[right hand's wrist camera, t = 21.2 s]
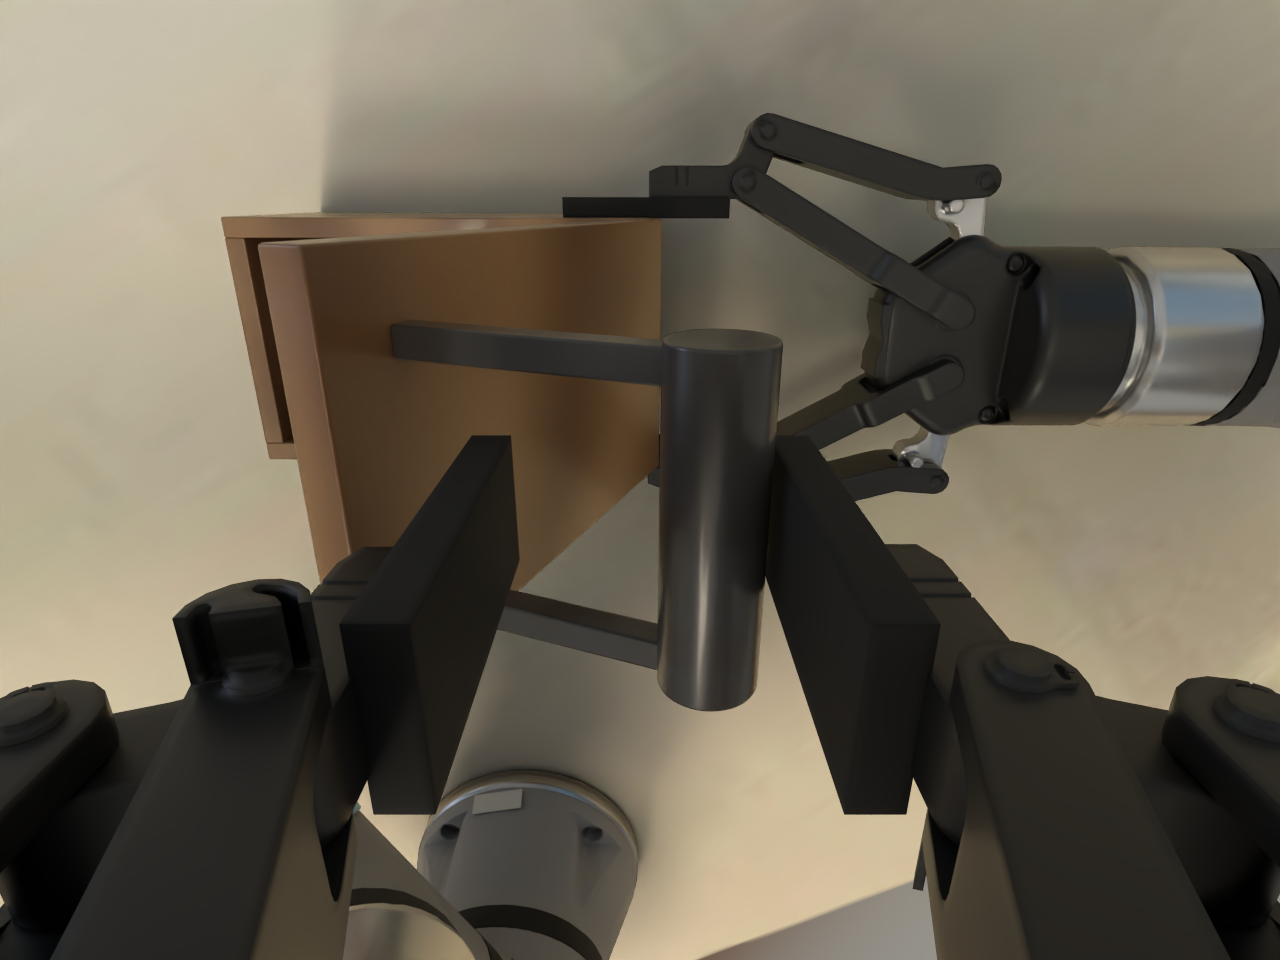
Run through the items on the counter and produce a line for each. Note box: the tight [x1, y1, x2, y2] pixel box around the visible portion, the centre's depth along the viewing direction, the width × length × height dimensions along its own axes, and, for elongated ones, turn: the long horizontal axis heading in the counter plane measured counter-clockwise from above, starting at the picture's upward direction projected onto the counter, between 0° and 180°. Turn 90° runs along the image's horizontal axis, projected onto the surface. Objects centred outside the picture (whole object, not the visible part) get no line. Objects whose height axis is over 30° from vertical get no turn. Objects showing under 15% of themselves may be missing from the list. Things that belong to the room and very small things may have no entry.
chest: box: [221, 212, 649, 459], centre depth 33 cm, size 16×10×9 cm, turn 90°
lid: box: [258, 219, 783, 711], centre depth 20 cm, size 17×10×9 cm
